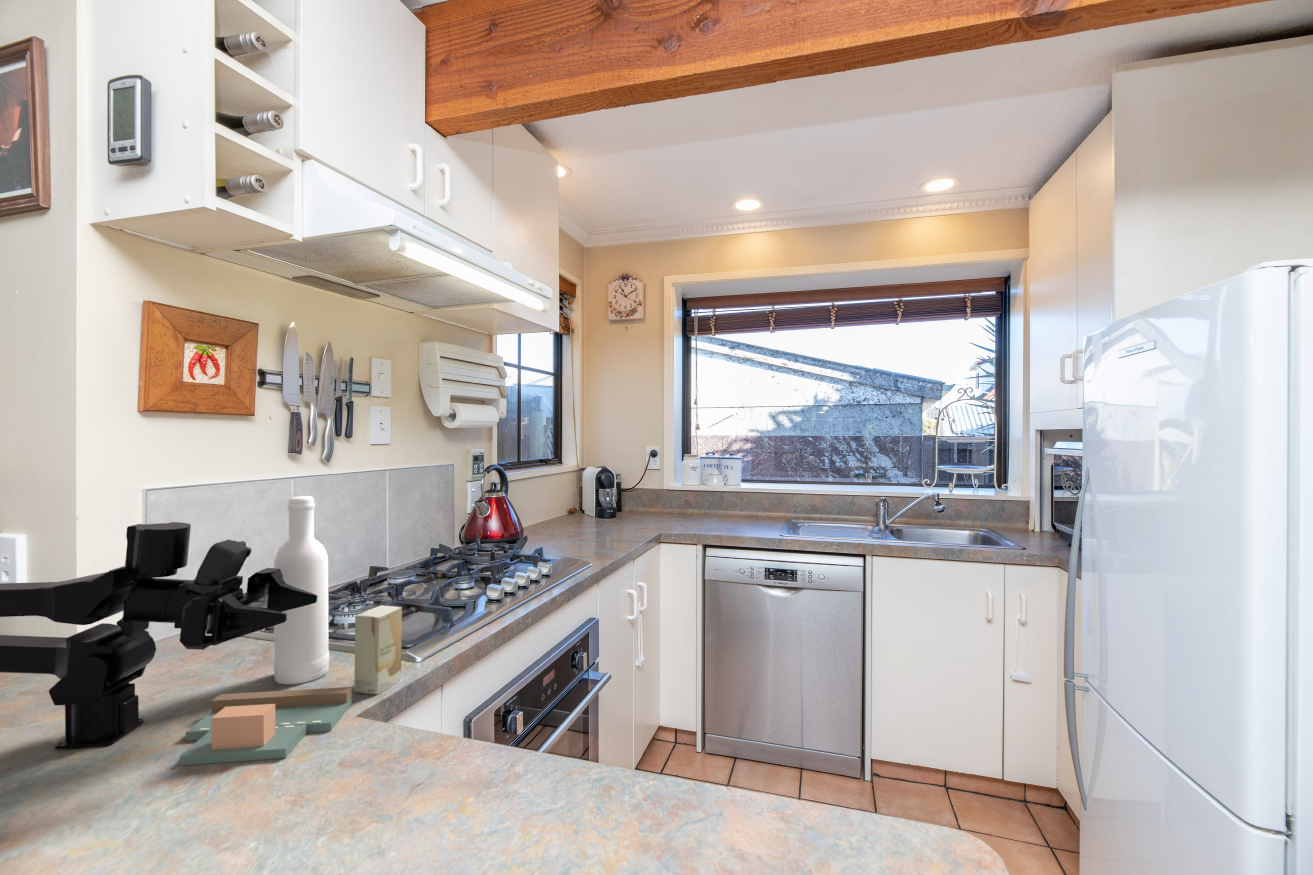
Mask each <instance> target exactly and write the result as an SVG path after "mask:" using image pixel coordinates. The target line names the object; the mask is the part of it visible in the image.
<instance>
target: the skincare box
mask: <svg viewBox="0 0 1313 875" xmlns="http://www.w3.org/2000/svg"><path fill="white" fill-rule="evenodd" d="M402 609H403V607H401V606H391V605H381V604H380V605H378V606H376V607H374V608H371V609H368V610H366V611H364V612H361V613H360V614H356V615H355V619H354V621H355V622H354V624H355V625H354V678H353V679H354V682H353V686H354V690H353V692H354V693H359V694H366V695H368V694H369V695H379V694H381V693H382V692H384V691H385V690H387V689H389V688H390V687H392V686H393V685H395V684H396V683H398V682H400V681H401V680H402V637H403V636H402V635H403V634H402V630H403V629H402V626H403V618H402V616H403V614H402V613H403V612H402V611H403V610H402Z"/></svg>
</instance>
